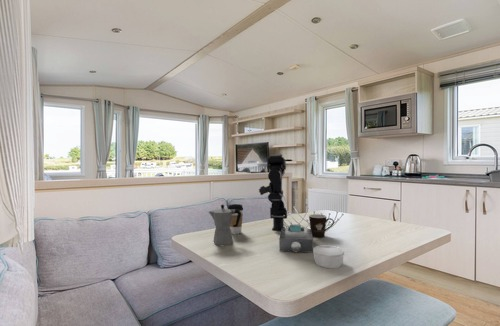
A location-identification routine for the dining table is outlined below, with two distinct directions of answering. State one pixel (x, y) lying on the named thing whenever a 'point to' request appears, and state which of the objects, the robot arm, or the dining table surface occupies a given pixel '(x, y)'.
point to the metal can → (295, 227)
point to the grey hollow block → (296, 240)
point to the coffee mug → (318, 225)
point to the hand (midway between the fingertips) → (276, 211)
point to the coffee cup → (234, 217)
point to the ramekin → (328, 256)
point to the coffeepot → (224, 225)
